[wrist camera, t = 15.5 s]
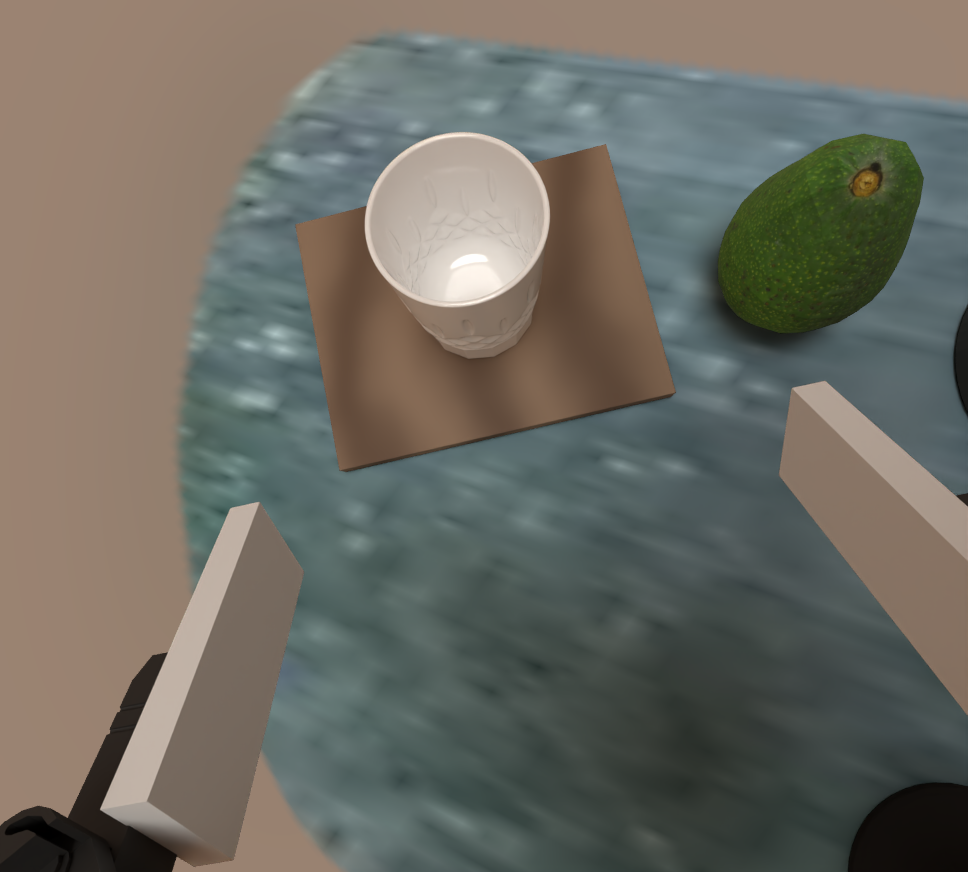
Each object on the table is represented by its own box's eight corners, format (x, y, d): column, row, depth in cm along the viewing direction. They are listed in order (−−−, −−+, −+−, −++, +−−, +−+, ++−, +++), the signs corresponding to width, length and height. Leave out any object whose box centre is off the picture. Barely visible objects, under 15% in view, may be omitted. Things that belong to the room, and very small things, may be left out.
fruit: (846, 345, 32) (1033, 247, 20) (708, 364, 32) (810, 279, 21) (818, 217, 33) (978, 54, 21) (685, 238, 34) (768, 89, 22)
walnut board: (603, 156, 35) (605, 144, 34) (670, 396, 32) (675, 392, 31) (303, 234, 36) (295, 224, 35) (346, 471, 33) (339, 470, 32)
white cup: (388, 303, 33) (327, 216, 24) (484, 218, 34) (464, 96, 24) (473, 396, 32) (446, 345, 22) (572, 307, 32) (589, 218, 22)
